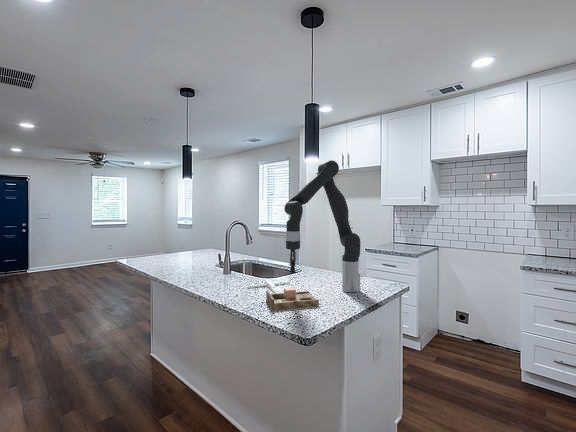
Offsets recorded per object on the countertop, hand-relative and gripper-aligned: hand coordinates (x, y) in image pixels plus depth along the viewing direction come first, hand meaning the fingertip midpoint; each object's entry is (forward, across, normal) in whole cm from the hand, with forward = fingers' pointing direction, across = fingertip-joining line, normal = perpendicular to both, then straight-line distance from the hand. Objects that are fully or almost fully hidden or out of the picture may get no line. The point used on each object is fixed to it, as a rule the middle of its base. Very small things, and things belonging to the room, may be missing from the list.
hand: (292, 272), depth 159 cm
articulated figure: (+15, -18, -11) cm, 25 cm away
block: (+12, +3, -1) cm, 12 cm away
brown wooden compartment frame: (+14, +7, 0) cm, 15 cm away
